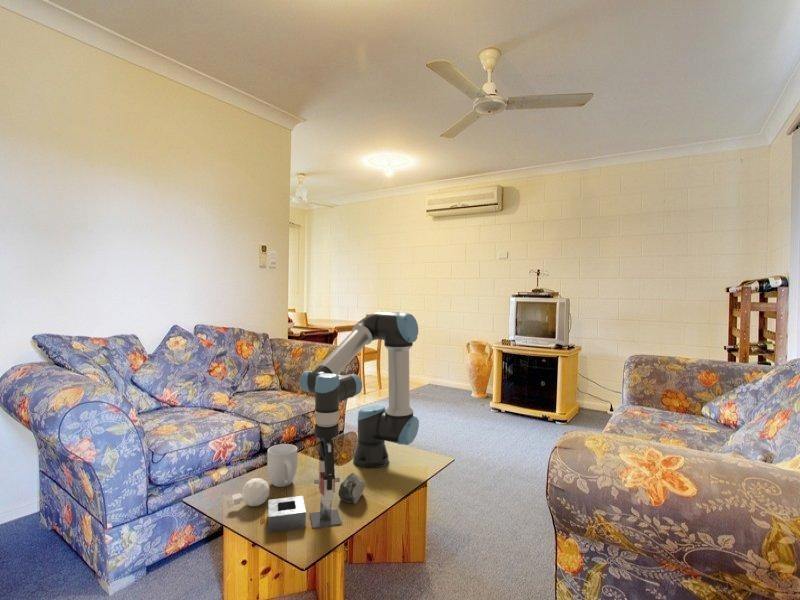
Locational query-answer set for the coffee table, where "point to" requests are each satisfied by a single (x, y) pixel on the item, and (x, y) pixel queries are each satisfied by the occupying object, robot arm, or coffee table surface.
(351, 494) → the stone
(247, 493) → the perfume bottle
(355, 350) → the robot arm
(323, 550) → the coffee table surface
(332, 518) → the mat
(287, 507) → the block
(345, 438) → the coffee table surface
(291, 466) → the mug
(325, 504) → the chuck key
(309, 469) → the coffee table surface
